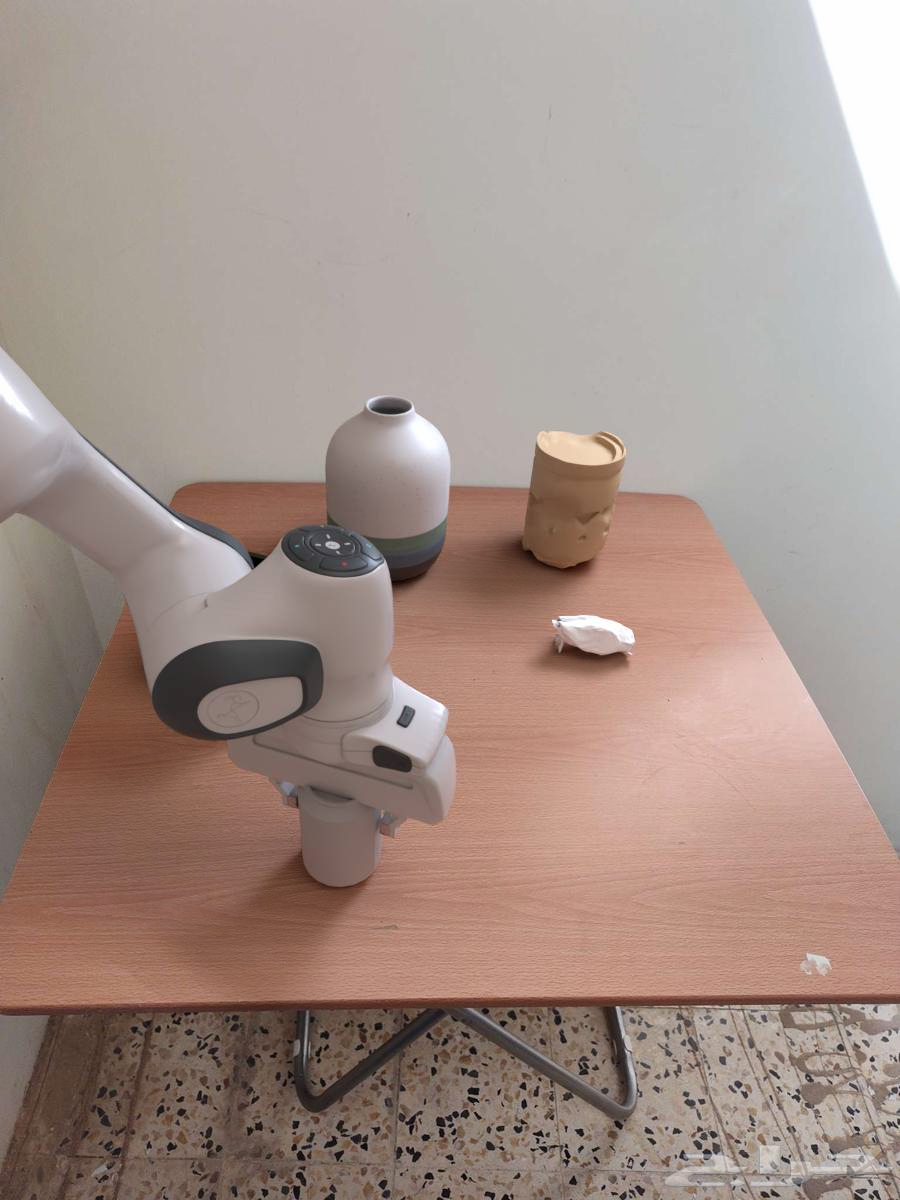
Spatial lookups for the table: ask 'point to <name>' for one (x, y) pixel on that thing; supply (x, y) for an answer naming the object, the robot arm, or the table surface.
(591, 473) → the container
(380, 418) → the vase
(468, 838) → the table surface
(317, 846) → the can
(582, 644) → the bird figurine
